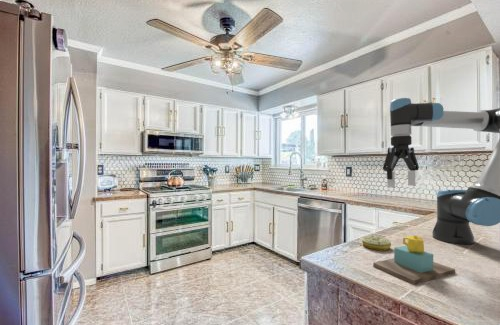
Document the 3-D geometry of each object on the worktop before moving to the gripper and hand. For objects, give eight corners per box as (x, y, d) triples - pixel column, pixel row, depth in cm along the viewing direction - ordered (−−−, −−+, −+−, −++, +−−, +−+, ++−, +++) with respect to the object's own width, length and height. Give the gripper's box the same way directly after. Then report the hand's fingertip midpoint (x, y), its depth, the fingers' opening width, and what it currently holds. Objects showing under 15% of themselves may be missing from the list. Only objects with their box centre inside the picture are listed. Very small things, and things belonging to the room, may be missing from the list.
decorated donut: (372, 241, 113) (372, 233, 113) (396, 249, 104) (396, 240, 104) (357, 245, 108) (357, 236, 108) (380, 253, 99) (380, 243, 99)
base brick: (406, 259, 89) (406, 245, 89) (433, 269, 81) (433, 254, 81) (394, 262, 86) (394, 247, 86) (420, 272, 78) (421, 256, 78)
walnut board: (412, 257, 94) (412, 254, 94) (455, 273, 81) (455, 269, 81) (373, 266, 86) (373, 262, 86) (414, 284, 73) (414, 280, 73)
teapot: (402, 246, 88) (402, 231, 88) (422, 248, 85) (422, 233, 85) (403, 253, 81) (403, 237, 81) (425, 256, 78) (425, 239, 78)
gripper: (410, 137, 115) (411, 184, 115) (372, 136, 104) (373, 187, 104) (427, 136, 108) (428, 185, 108) (389, 134, 97) (390, 189, 97)
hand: (401, 186), depth 106 cm, fingers open, 13 cm apart
